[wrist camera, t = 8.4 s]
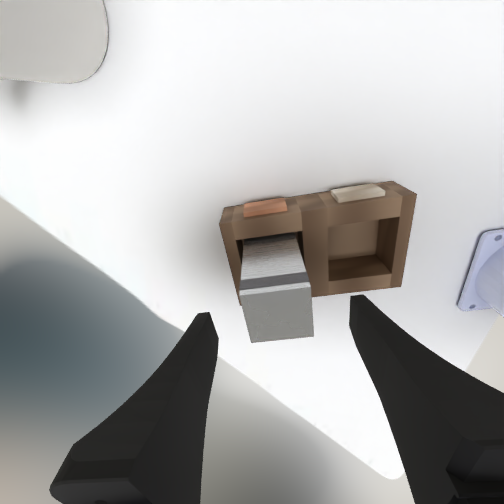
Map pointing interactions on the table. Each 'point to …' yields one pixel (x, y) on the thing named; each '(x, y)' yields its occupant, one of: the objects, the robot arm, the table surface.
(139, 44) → the table surface
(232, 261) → the port block
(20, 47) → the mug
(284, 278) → the plug
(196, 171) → the table surface
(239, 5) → the table surface
